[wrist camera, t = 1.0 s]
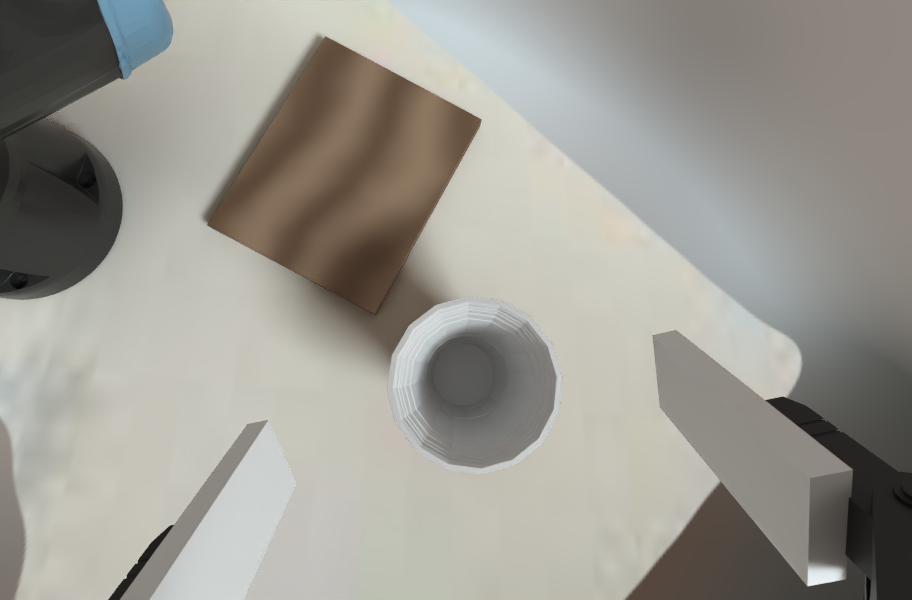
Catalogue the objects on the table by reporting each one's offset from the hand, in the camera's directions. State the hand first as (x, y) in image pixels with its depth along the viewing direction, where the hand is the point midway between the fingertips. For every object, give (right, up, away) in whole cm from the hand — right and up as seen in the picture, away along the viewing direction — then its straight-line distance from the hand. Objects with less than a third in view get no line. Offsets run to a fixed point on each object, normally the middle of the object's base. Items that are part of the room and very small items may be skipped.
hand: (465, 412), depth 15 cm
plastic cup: (0, -3, +24) cm, 24 cm away
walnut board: (-10, +15, +25) cm, 31 cm away
